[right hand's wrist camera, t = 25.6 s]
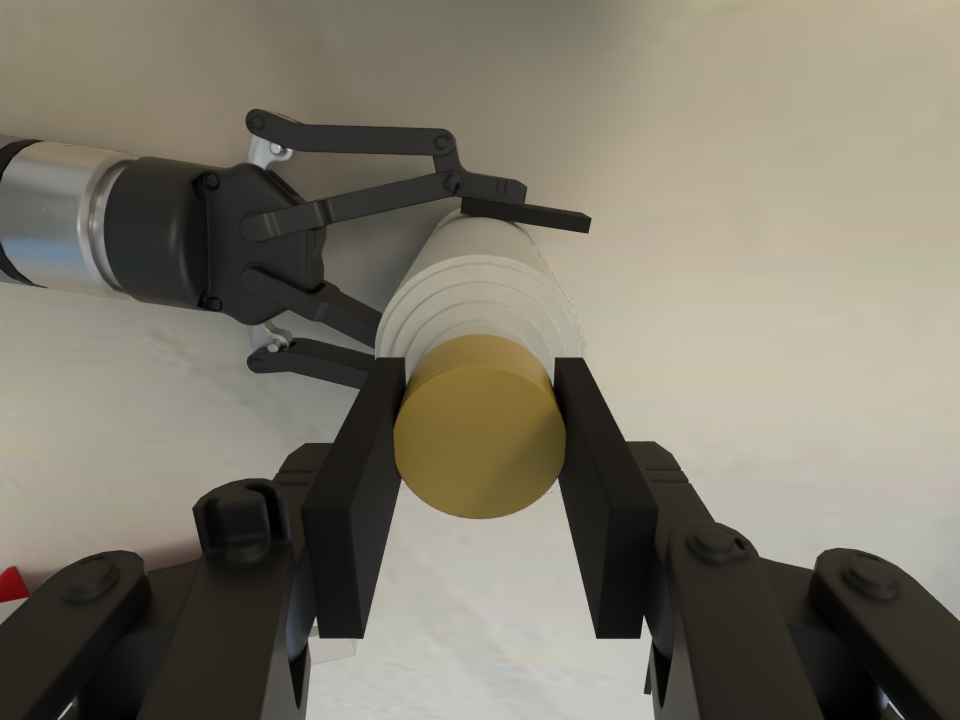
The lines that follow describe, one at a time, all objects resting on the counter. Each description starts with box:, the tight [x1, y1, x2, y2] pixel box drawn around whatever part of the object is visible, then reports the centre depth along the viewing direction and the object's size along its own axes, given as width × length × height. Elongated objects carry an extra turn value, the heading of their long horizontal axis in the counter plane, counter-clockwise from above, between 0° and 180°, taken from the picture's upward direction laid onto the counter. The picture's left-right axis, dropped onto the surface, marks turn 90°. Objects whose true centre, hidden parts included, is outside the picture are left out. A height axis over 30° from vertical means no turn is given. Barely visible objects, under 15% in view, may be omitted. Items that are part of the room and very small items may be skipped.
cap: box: [393, 334, 566, 519], centre depth 14 cm, size 4×4×2 cm
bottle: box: [375, 207, 585, 386], centre depth 24 cm, size 7×7×23 cm
